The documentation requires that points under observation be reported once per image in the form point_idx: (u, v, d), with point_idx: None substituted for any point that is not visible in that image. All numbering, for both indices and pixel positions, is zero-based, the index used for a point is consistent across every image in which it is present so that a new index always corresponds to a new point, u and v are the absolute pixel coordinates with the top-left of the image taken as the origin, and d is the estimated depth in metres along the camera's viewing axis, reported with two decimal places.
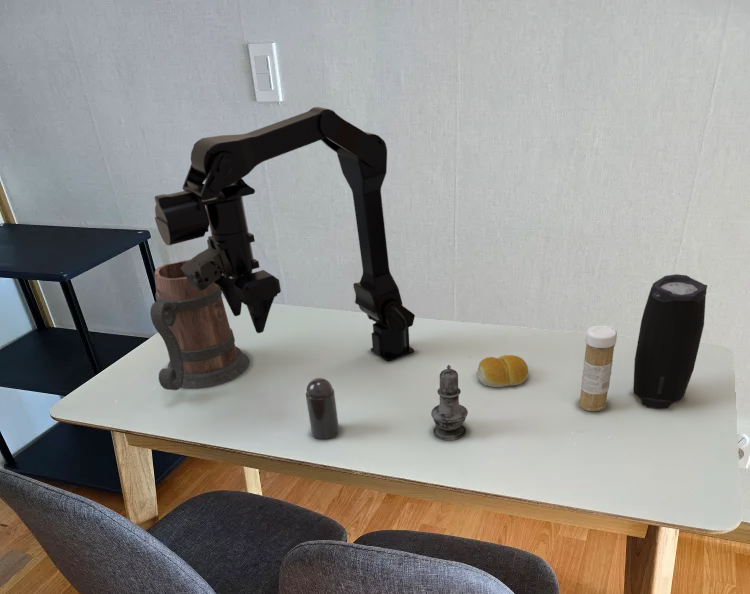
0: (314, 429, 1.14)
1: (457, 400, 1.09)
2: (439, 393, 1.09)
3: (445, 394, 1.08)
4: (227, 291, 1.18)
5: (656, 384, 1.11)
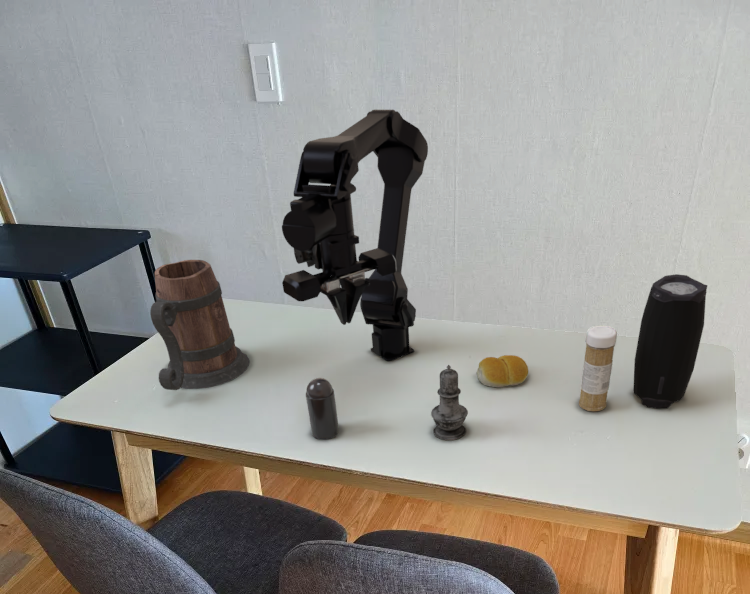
0: (314, 429, 1.14)
1: (457, 400, 1.09)
2: (439, 393, 1.09)
3: (445, 394, 1.08)
4: None
5: (656, 384, 1.11)
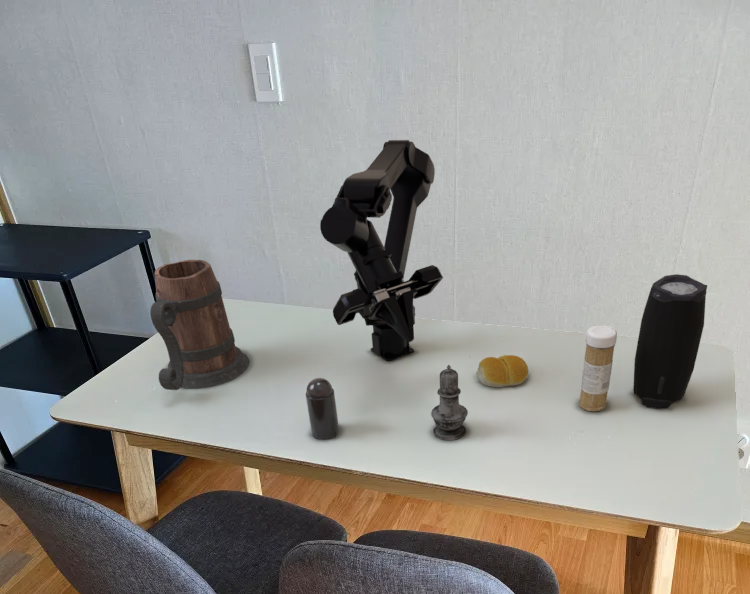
0: (314, 429, 1.14)
1: (457, 400, 1.09)
2: (439, 393, 1.09)
3: (445, 394, 1.08)
4: None
5: (656, 384, 1.11)
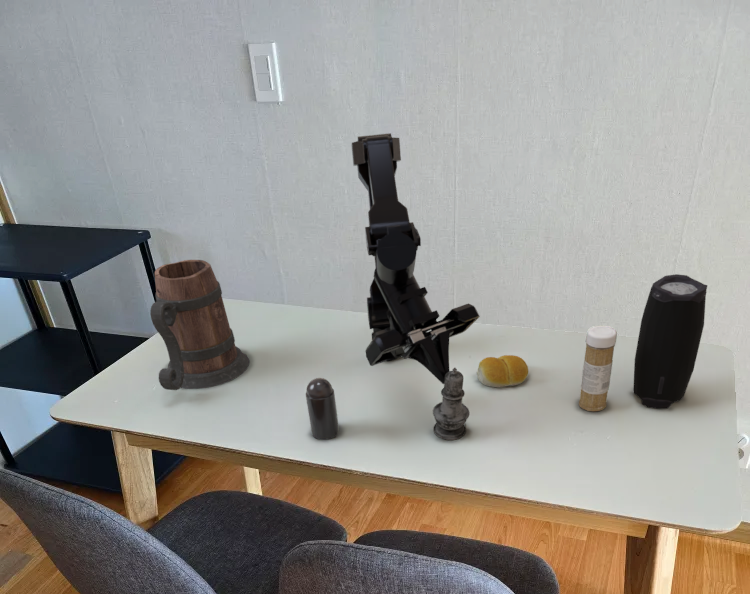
0: (314, 429, 1.14)
1: (460, 402, 1.09)
2: (443, 394, 1.08)
3: (449, 396, 1.07)
4: None
5: (656, 384, 1.11)
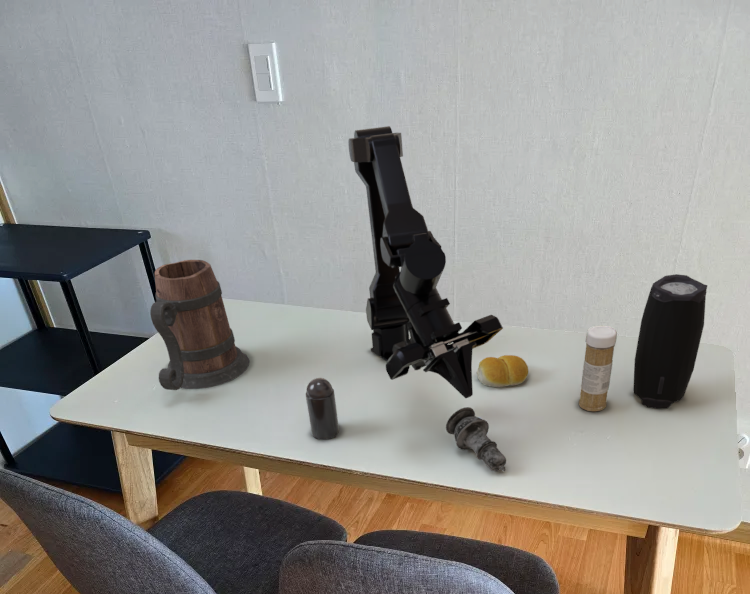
0: (314, 429, 1.14)
1: None
2: (478, 454, 1.04)
3: (480, 458, 1.05)
4: None
5: (656, 384, 1.11)
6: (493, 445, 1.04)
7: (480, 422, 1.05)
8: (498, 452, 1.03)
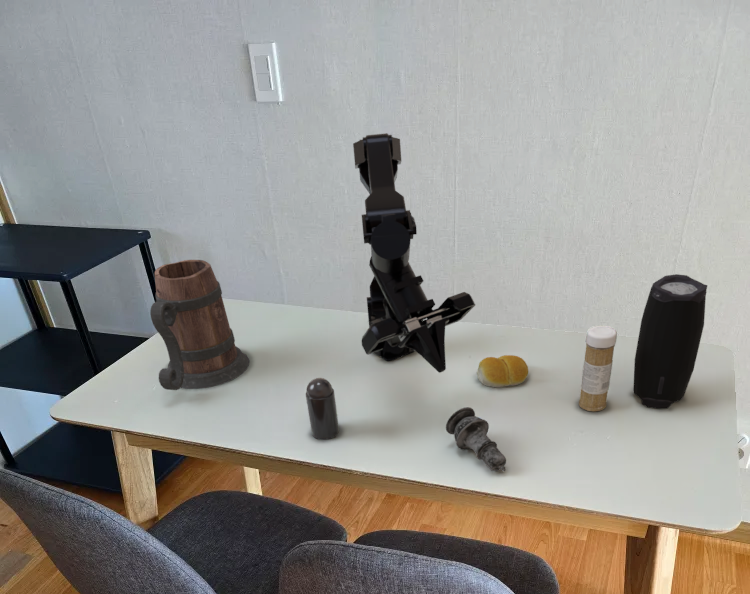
0: (314, 429, 1.14)
1: None
2: (478, 454, 1.04)
3: (480, 458, 1.05)
4: None
5: (656, 384, 1.11)
6: (493, 445, 1.04)
7: (480, 422, 1.05)
8: (498, 452, 1.03)
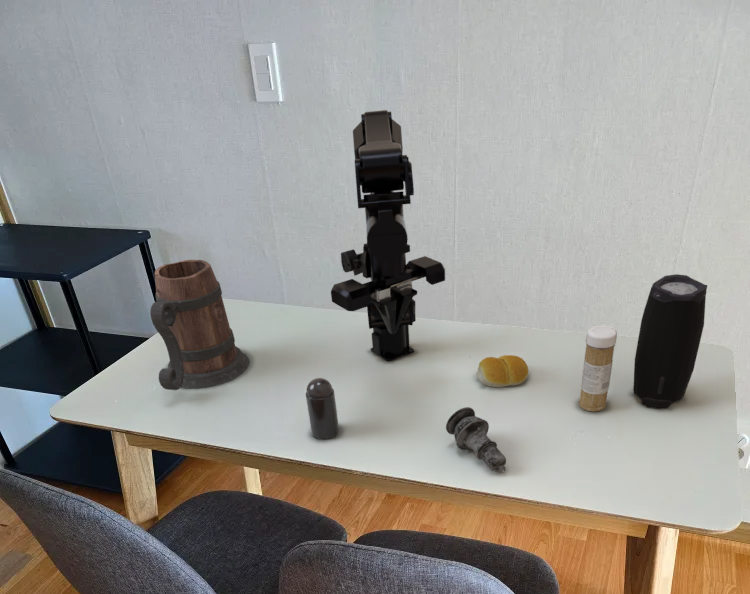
0: (314, 429, 1.14)
1: None
2: (478, 454, 1.04)
3: (480, 458, 1.05)
4: None
5: (656, 384, 1.11)
6: (493, 445, 1.04)
7: (480, 422, 1.05)
8: (498, 452, 1.03)
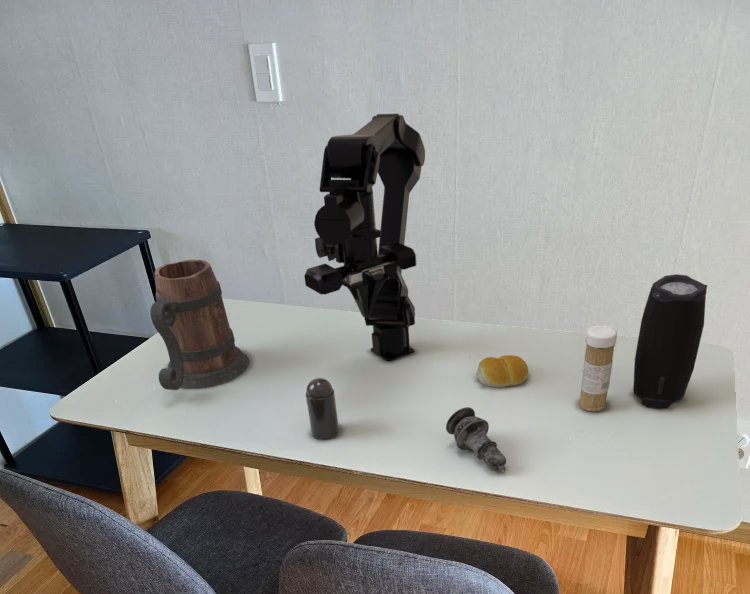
0: (314, 429, 1.14)
1: None
2: (478, 454, 1.04)
3: (480, 458, 1.05)
4: None
5: (656, 384, 1.11)
6: (493, 445, 1.04)
7: (480, 422, 1.05)
8: (498, 452, 1.03)
